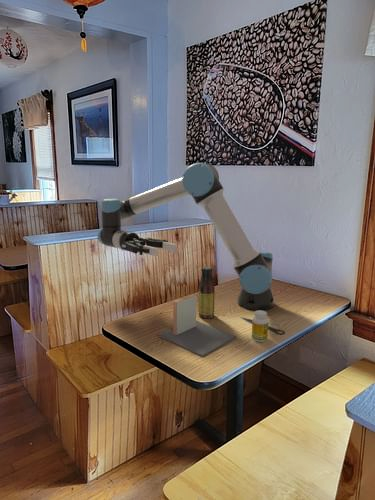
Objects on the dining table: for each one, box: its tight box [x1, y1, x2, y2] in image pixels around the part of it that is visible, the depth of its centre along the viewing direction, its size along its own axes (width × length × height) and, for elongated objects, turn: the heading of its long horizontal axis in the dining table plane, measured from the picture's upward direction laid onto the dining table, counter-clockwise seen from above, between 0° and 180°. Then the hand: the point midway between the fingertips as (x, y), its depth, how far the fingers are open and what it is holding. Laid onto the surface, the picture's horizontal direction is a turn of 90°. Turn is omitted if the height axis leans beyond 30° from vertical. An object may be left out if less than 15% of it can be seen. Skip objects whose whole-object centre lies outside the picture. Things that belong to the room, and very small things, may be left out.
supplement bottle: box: [251, 310, 269, 343], centre depth 124 cm, size 5×5×10 cm
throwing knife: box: [240, 316, 286, 336], centre depth 136 cm, size 4×20×1 cm, turn 43°
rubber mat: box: [158, 320, 238, 358], centre depth 126 cm, size 20×18×1 cm
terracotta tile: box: [172, 293, 197, 335], centre depth 128 cm, size 2×10×12 cm, turn 137°
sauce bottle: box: [197, 265, 216, 319], centre depth 141 cm, size 7×6×20 cm
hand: (166, 250), depth 130 cm, fingers open, 9 cm apart
